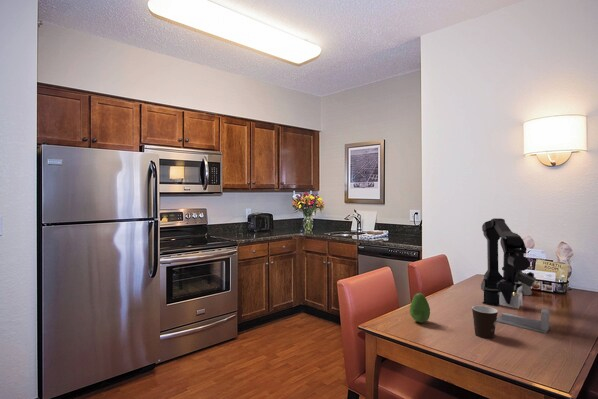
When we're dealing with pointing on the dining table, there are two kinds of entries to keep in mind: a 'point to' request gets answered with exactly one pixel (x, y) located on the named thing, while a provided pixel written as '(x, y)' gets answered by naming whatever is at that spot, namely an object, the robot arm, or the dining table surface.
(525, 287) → the mineral rock
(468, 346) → the dining table surface
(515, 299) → the lock block
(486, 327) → the coffee mug
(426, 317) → the fruit
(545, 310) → the hitch plate
